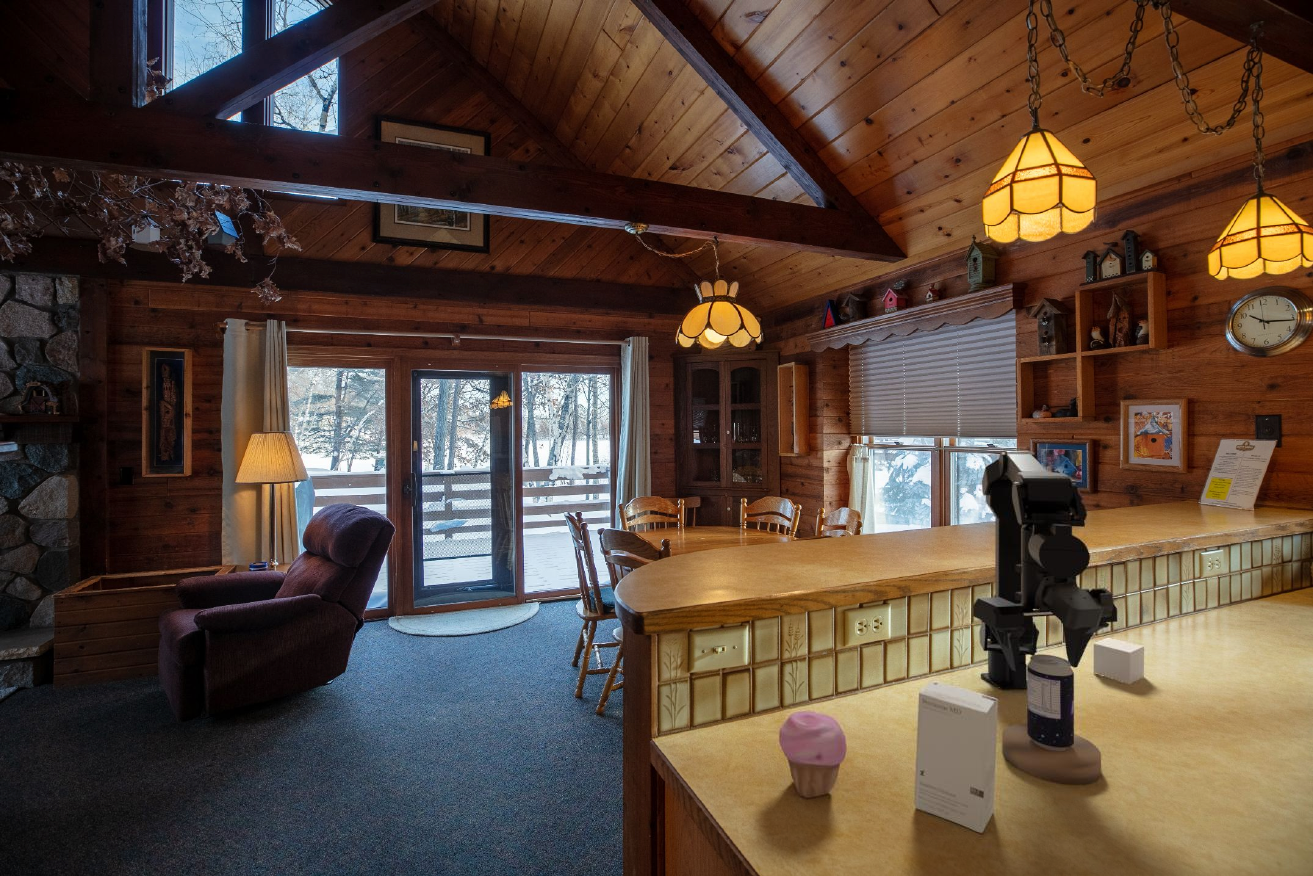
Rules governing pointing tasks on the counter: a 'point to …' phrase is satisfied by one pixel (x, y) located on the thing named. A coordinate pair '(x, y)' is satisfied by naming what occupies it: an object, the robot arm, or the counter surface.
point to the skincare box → (956, 754)
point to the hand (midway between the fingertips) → (1044, 668)
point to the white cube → (1119, 660)
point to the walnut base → (1052, 758)
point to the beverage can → (1050, 702)
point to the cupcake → (813, 751)
